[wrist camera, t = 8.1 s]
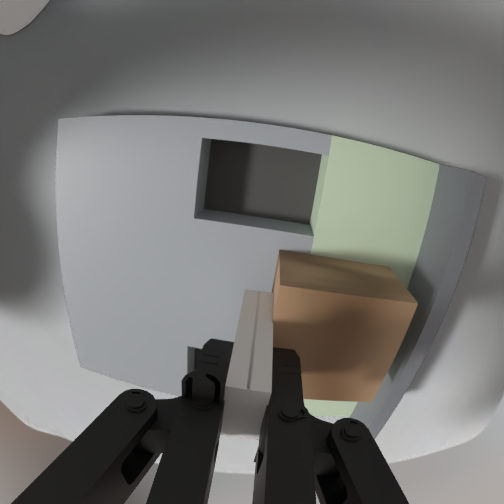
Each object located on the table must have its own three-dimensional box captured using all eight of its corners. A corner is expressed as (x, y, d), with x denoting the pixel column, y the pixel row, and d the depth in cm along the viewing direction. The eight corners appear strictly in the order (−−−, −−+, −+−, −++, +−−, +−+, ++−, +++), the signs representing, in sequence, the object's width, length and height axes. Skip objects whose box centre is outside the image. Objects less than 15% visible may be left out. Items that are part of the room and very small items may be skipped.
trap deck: (93, 349, 22) (62, 390, 17) (81, 119, 16) (24, 118, 11) (356, 395, 21) (368, 447, 16) (433, 165, 15) (486, 177, 10)
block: (261, 345, 17) (257, 393, 13) (279, 249, 15) (279, 285, 11) (357, 355, 17) (371, 401, 13) (389, 266, 15) (418, 303, 11)
